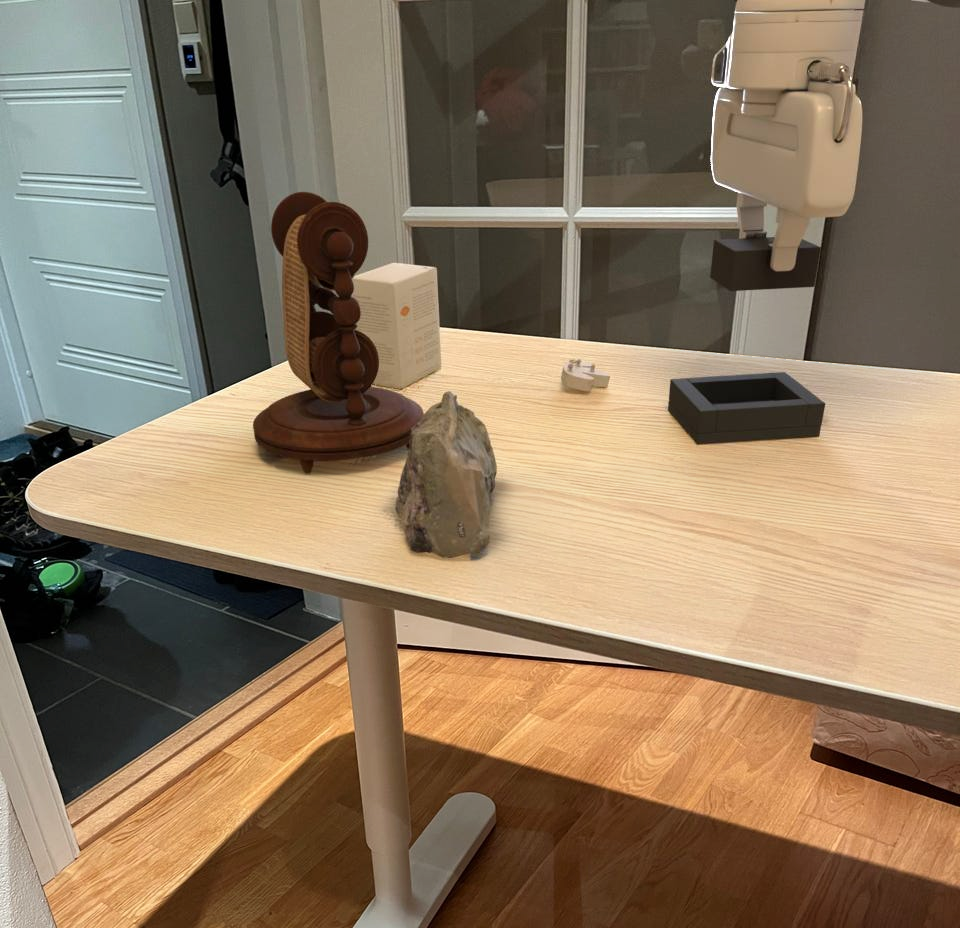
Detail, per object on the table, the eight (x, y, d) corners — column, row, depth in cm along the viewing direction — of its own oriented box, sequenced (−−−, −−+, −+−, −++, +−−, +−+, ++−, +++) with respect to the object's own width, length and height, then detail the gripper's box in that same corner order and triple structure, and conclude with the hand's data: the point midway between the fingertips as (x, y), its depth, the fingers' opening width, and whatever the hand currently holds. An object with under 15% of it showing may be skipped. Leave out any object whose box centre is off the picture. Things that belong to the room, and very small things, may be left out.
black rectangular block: (790, 273, 79) (796, 235, 77) (814, 287, 75) (821, 247, 73) (709, 277, 78) (713, 239, 77) (729, 291, 74) (734, 251, 72)
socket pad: (780, 403, 89) (785, 371, 87) (819, 436, 81) (825, 403, 80) (667, 410, 88) (670, 378, 86) (696, 445, 81) (700, 411, 79)
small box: (400, 362, 103) (393, 261, 97) (443, 369, 101) (438, 265, 95) (356, 382, 97) (346, 276, 92) (400, 390, 95) (392, 282, 89)
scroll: (237, 434, 85) (196, 194, 74) (387, 406, 91) (368, 179, 80) (286, 491, 74) (246, 219, 63) (453, 455, 80) (442, 199, 69)
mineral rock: (462, 475, 76) (457, 351, 71) (571, 508, 70) (575, 376, 65) (348, 533, 68) (333, 397, 62) (461, 575, 62) (455, 430, 57)
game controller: (616, 392, 93) (617, 366, 91) (503, 404, 91) (502, 377, 89) (598, 375, 97) (599, 349, 96) (490, 386, 96) (489, 360, 94)
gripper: (903, 62, 60) (860, 287, 67) (780, 56, 77) (756, 237, 84) (808, 65, 59) (775, 292, 67) (705, 58, 76) (688, 240, 84)
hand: (764, 261), depth 76 cm, fingers closed on black rectangular block, 5 cm apart
